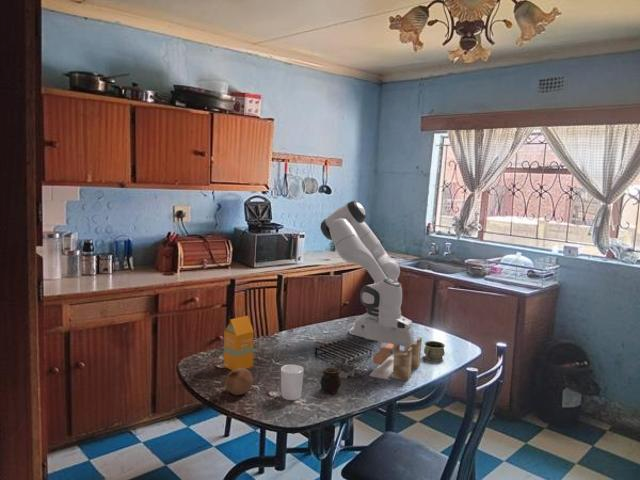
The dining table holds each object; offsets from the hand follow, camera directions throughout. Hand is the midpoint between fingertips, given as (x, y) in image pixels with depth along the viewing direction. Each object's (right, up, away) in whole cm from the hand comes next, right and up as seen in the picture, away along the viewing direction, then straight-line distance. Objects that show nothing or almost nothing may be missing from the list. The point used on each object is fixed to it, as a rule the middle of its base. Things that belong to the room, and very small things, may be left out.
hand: (387, 352), depth 207 cm
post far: (+10, -6, +4) cm, 13 cm away
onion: (-56, -8, -28) cm, 63 cm away
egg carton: (-19, -7, -6) cm, 21 cm away
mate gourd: (-24, -9, -23) cm, 34 cm away
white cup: (-37, -9, -29) cm, 48 cm away
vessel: (+22, -6, +14) cm, 26 cm away
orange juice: (-60, -5, -4) cm, 60 cm away
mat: (0, -6, +1) cm, 6 cm away
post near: (+4, -8, -9) cm, 12 cm away
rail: (0, -1, 0) cm, 1 cm away
